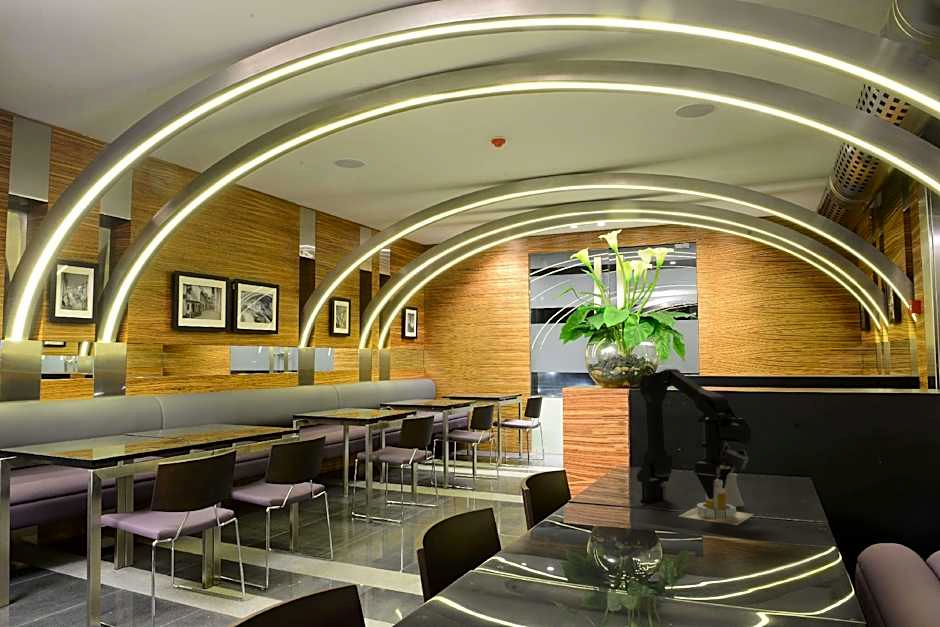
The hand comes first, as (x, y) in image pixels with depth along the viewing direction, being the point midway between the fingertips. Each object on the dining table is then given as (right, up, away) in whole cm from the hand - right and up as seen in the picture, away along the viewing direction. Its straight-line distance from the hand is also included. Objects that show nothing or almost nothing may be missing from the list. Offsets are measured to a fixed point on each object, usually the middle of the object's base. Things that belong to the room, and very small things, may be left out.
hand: (716, 496), depth 186 cm
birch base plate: (0, -6, 0) cm, 6 cm away
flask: (+10, -8, +14) cm, 19 cm away
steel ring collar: (0, -5, 0) cm, 5 cm away
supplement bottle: (0, -5, 0) cm, 5 cm away
